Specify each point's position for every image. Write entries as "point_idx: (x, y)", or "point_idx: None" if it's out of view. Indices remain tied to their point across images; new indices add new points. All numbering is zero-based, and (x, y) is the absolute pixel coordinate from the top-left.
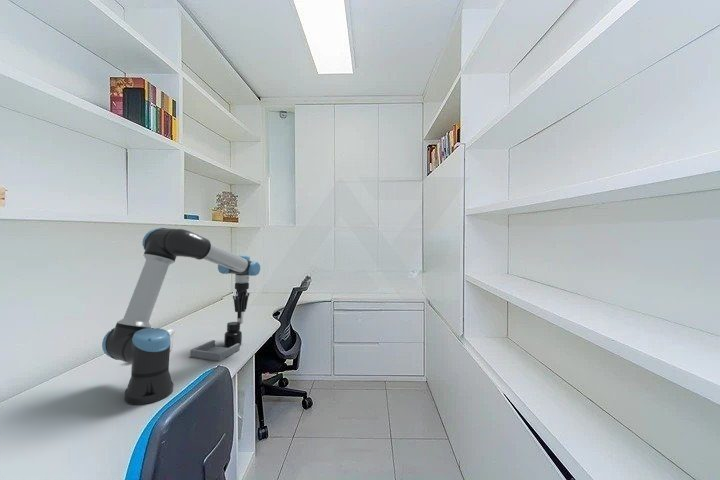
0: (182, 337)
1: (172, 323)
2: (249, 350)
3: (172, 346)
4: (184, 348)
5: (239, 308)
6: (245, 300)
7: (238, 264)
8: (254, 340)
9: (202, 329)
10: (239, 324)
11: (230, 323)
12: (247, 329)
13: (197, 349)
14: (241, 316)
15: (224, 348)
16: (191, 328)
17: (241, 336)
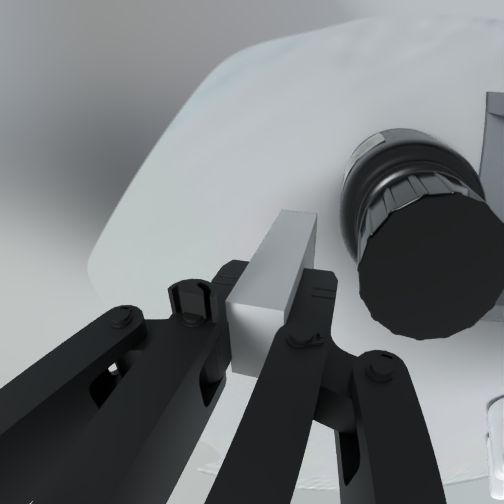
0: (330, 437)
1: (210, 471)
2: (465, 24)
3: (498, 411)
4: (469, 382)
5: (381, 428)
6: (8, 459)
7: None
8: (259, 83)
9: (213, 414)
10: (446, 189)
11: (453, 305)
12: (107, 250)
13: None
14: (301, 268)
15: (490, 203)
16: (222, 439)
17: (394, 137)
